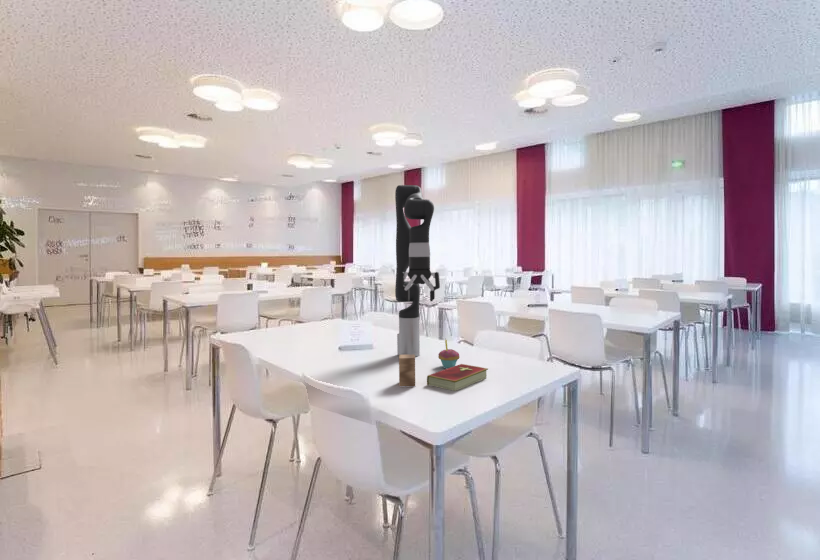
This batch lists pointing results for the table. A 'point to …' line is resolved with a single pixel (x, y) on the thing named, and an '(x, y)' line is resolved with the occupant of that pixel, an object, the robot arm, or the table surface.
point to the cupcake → (448, 357)
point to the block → (407, 370)
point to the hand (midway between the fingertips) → (419, 301)
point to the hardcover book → (457, 377)
